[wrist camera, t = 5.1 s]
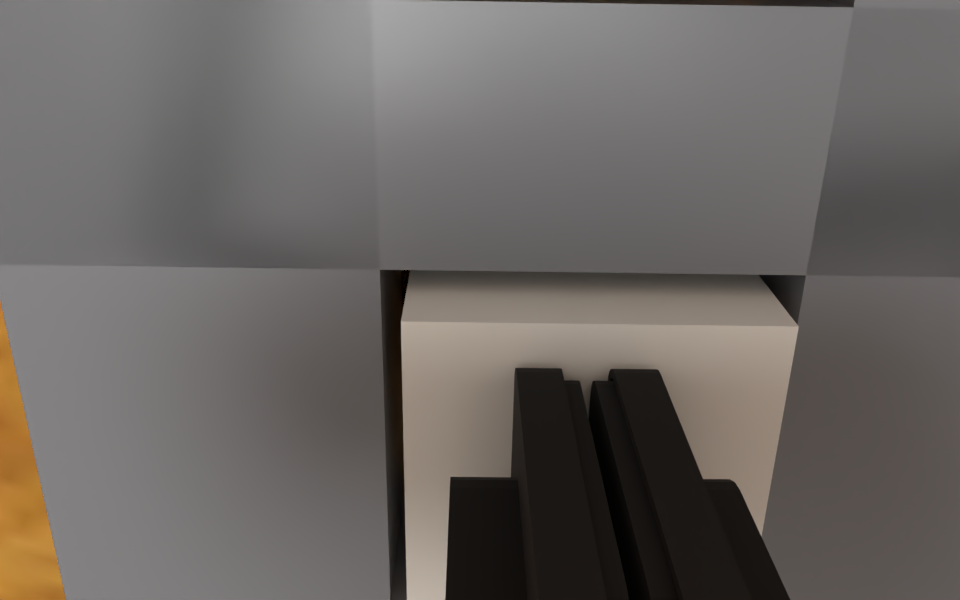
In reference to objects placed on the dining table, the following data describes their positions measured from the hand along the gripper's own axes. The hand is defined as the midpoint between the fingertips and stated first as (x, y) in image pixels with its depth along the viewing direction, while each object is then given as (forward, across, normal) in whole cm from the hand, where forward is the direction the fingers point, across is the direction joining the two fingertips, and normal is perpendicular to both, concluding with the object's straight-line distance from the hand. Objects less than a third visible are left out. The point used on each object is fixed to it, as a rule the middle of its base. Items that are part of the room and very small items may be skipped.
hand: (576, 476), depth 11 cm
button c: (+4, 0, 0) cm, 4 cm away
